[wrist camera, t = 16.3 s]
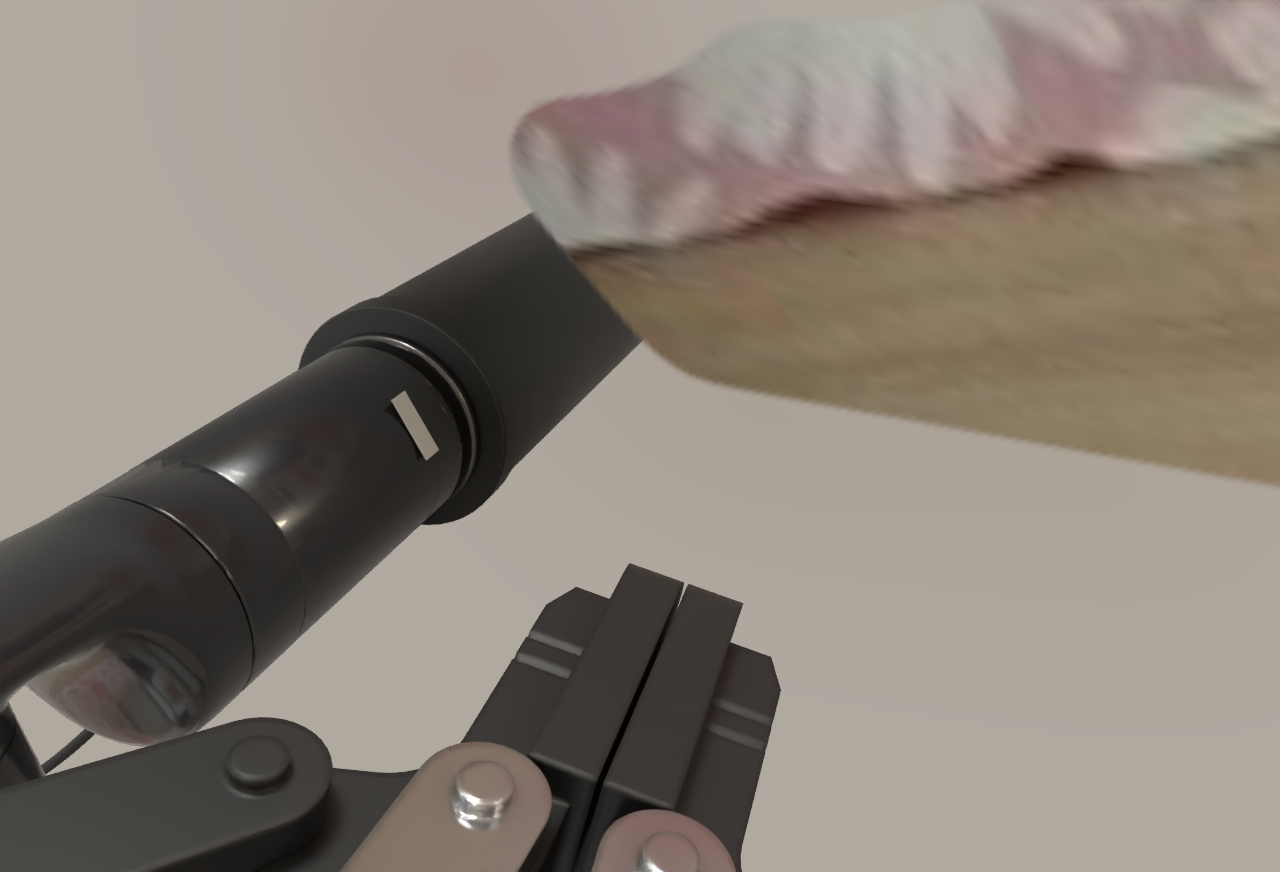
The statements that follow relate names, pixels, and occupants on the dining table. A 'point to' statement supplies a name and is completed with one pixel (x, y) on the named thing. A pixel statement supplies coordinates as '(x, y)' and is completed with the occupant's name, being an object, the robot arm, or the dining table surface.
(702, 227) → the dining table surface
